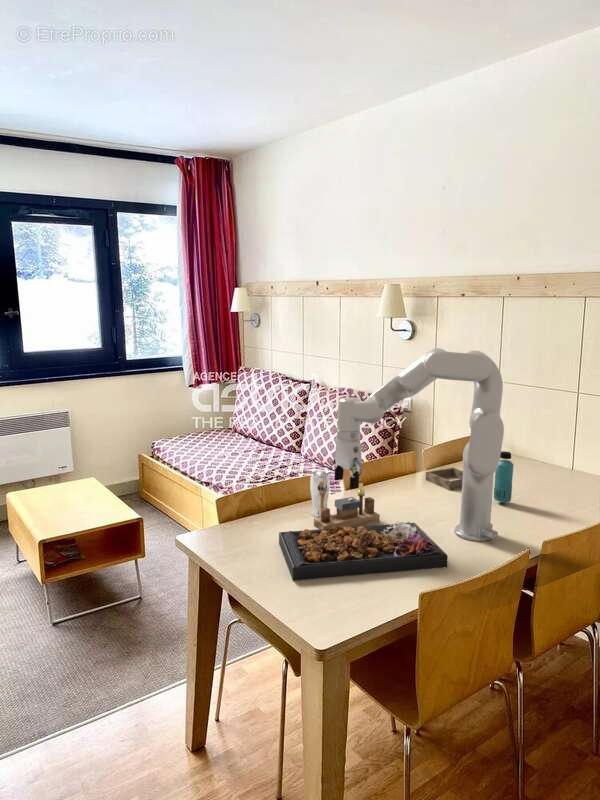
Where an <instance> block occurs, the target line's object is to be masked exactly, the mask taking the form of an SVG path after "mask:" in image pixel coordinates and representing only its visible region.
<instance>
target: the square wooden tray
mask: <svg viewBox="0 0 600 800" xmlns="http://www.w3.org/2000/svg"><path fill="white" fill-rule="evenodd" d="M451 477H454V478H456V479H454V480H449V479H448V478H451ZM462 480H463V470H461V469H458V468H455V467H448V468H441V469H436V470H430V471H425V481H428V482H430V483H432V484H434V485H437V486H439V487H441V488H443V489H446V490H448V491H454V490H458V489H457V488H459V489H462ZM453 489H454V490H453Z"/></svg>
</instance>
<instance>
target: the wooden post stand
mask: <svg viewBox="0 0 600 800" xmlns="http://www.w3.org/2000/svg"><path fill="white" fill-rule="evenodd" d="M358 497H359V498H358V500H359V501H360V508H355V509H350V510H344V511H342V510H340V509H338V508H337V507H336V513H335V514H331V509H330V508H329V507H327V508H322V509H321V517H315V518H313V527H314V528H317V530H320V529H331V528H333V527H336V526H339V527H340V528H343V527H345V528H346V527H349V526H350V527H360V526H366V525H369V524H370V525H371V524H375V523H379V522H380V517H381V516H380V514H379V513H378V512H375V499H374V498H373V497H371V496H370V497H369V496H368V497H364V496H358ZM363 500H364V502H363ZM363 503H364V506H363Z"/></svg>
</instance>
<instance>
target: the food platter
mask: <svg viewBox="0 0 600 800" xmlns="http://www.w3.org/2000/svg"><path fill="white" fill-rule="evenodd" d="M278 545H279V547H280V550H281V553H282V556H283V558H284V561H285V563H286V567H287V569H288V571H289V574H290V577H291V579H292V581H305V580H306V581H307V580H315V579H316V580H318V579H328V578H341V577H351V576H352V577H353V576H363V575H364V576H365V575H372V574H373V575H374V574H387V573H388V574H389V573H398V572H407V571H408V572H410V571H420V570H422V569H423V570H432V569H433V568H435V569H444V567H446V568H448V560H449V559H448V554H447V553H446V552H445V551H444V550H443V549H442V548H441V547H440V546H439V545H438V544H437V543H436V542H435V541H434V540H433V539H432V538H431V537H430V536H429V535H428V534H427V533H426V532H425V531H424V530H423V529H422V528H421V527H420V526H419V525H418V524H417V523H415V522H404V521H398V520H397V522H395V523H393V524H380V525H368V526H367V525H361V526H356V527H350V526H349V527H346V528H345V527H343V528H340V527H339V526H336V527H333V528H331V529H320V530H319V529H307V528H305V529H303V530H295V531H294V530H289V531H281V532H279V533H278ZM423 570H422V571H423ZM433 570H434V569H433Z"/></svg>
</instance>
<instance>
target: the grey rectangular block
mask: <svg viewBox="0 0 600 800" xmlns="http://www.w3.org/2000/svg"><path fill="white" fill-rule="evenodd" d="M334 507H335V508H336V509H337V508H338V509H340V510H342V511H344V510H350V509H355V508H358V509H359V508H360V501H359V499H356V498H355V497H354V496H353V497H352V496H350V497H343V498H339V499H334Z"/></svg>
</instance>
